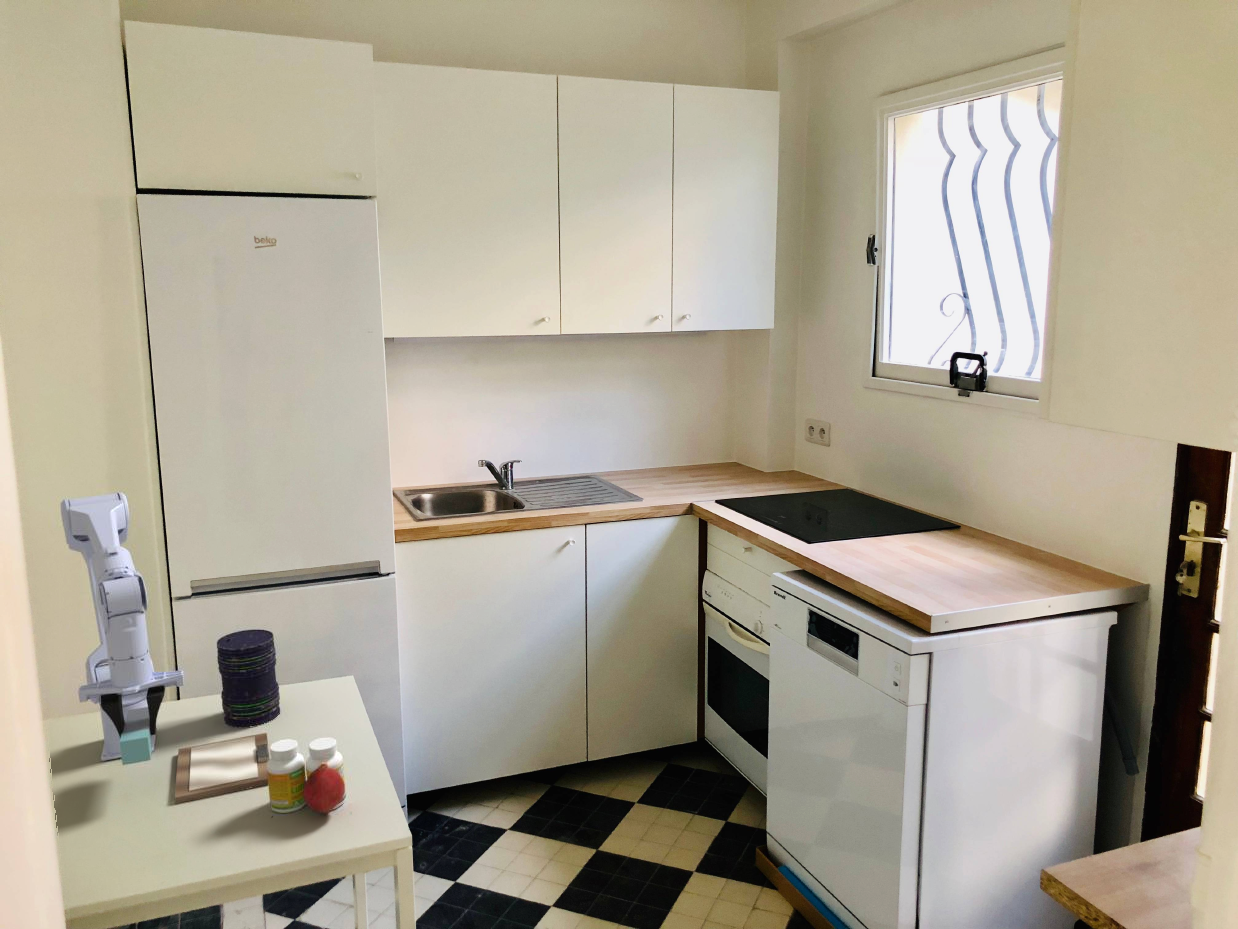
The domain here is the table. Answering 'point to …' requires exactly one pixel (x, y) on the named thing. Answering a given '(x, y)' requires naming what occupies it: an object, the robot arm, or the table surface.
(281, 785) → the supplement bottle
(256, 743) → the clipboard
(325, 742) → the supplement bottle
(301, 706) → the table surface
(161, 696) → the robot arm
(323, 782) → the onion
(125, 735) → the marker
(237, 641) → the dark blue cylinder
